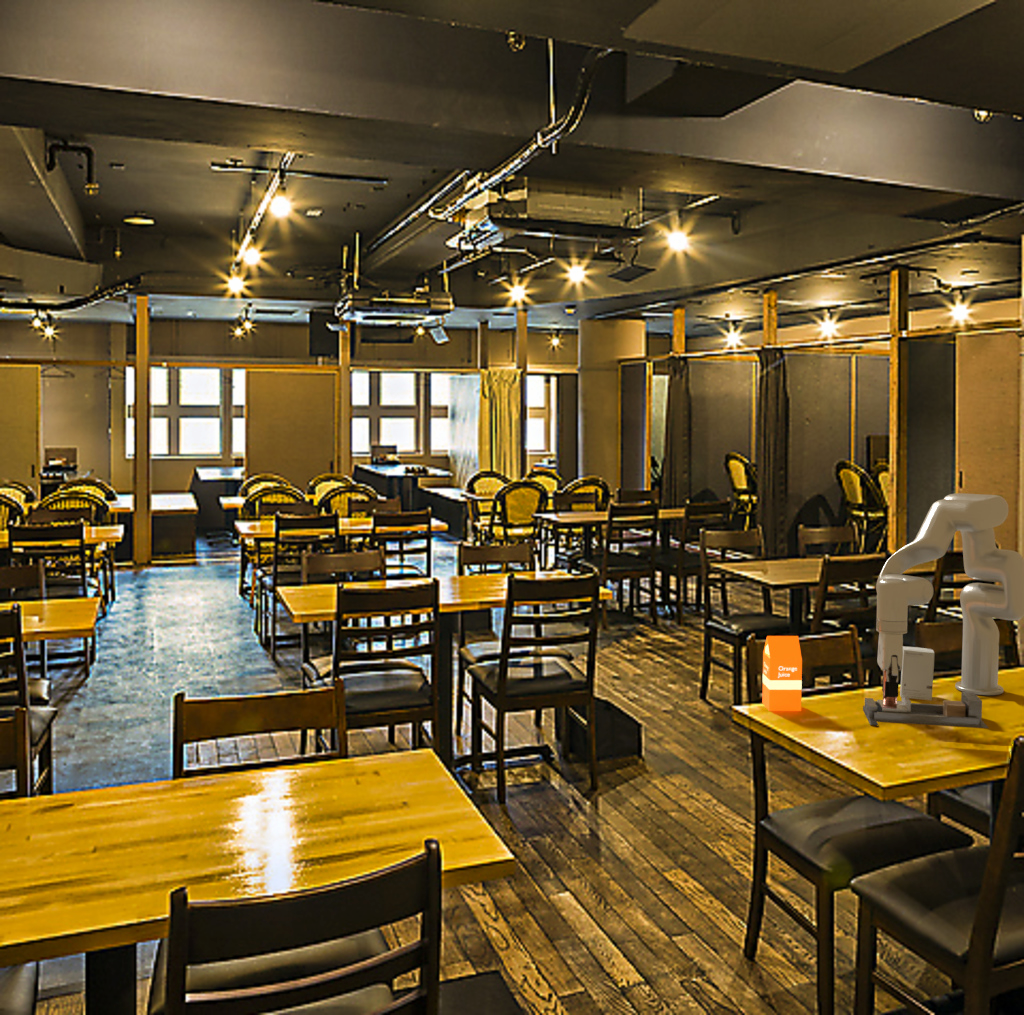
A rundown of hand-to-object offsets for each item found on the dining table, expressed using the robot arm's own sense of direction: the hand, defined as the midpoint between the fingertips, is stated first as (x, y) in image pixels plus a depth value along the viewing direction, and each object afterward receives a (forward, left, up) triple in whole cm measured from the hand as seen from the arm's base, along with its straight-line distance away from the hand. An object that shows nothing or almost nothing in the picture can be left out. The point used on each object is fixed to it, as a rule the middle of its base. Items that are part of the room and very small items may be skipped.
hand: (890, 693), depth 244 cm
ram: (0, +1, -5) cm, 5 cm away
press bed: (0, +8, -7) cm, 11 cm away
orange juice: (-6, -27, -7) cm, 29 cm away
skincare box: (-20, +10, -7) cm, 24 cm away
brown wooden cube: (0, +16, -6) cm, 17 cm away
